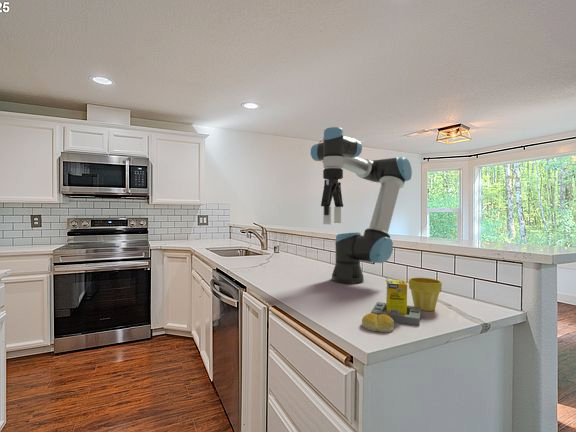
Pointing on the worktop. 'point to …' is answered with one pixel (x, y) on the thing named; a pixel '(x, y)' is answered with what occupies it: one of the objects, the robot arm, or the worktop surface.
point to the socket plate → (402, 318)
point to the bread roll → (378, 322)
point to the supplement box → (396, 297)
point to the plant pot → (425, 292)
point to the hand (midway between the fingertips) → (332, 223)
